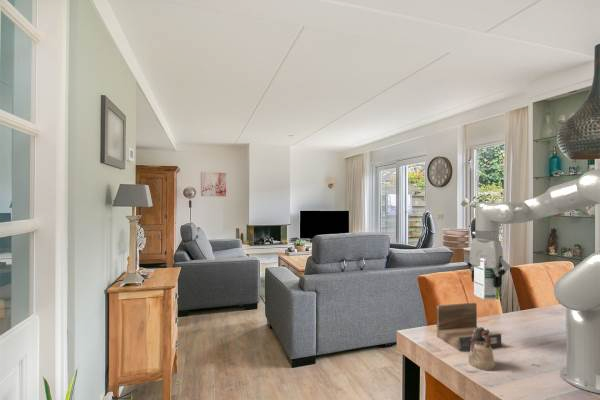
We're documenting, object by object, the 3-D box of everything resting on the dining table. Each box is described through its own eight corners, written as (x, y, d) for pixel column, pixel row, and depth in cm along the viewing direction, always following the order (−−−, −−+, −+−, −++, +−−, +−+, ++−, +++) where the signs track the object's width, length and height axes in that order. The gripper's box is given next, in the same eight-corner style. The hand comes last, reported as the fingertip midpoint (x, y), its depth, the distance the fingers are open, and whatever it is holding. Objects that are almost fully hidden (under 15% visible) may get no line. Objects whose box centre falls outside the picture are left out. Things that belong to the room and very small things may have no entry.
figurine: (480, 358, 106) (479, 322, 106) (499, 368, 99) (499, 329, 99) (463, 361, 104) (463, 324, 104) (482, 372, 97) (481, 332, 97)
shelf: (502, 347, 114) (501, 313, 114) (460, 351, 110) (460, 317, 111) (474, 332, 127) (474, 302, 127) (436, 336, 123) (436, 305, 124)
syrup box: (483, 299, 112) (484, 259, 112) (473, 294, 118) (473, 256, 118) (498, 299, 113) (499, 259, 113) (487, 294, 119) (488, 256, 119)
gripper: (458, 233, 121) (457, 279, 122) (505, 239, 106) (504, 291, 106) (470, 232, 125) (469, 277, 125) (518, 238, 110) (517, 289, 110)
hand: (485, 283), depth 116 cm, fingers closed on syrup box, 7 cm apart
